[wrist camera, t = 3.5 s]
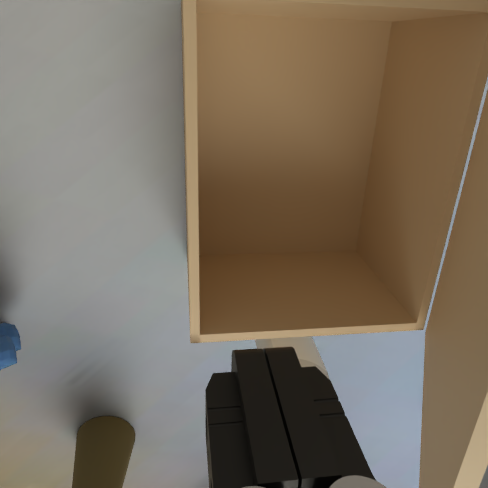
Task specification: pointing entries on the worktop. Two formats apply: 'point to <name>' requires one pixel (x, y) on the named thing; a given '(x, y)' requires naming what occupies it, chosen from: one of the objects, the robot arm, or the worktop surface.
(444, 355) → the lid flap
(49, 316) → the worktop surface
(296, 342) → the eye dropper bottle
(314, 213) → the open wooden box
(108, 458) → the cork
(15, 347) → the grapes
